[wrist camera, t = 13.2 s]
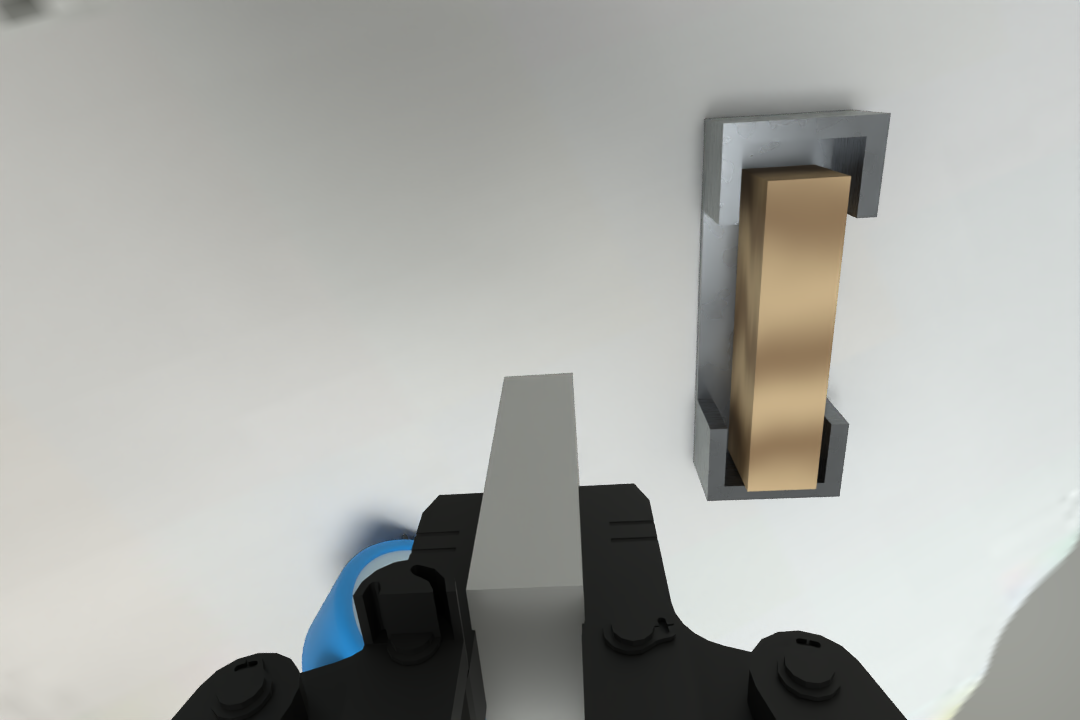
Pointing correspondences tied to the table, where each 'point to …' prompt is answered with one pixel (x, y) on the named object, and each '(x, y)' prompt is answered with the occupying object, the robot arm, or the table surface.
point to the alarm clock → (347, 606)
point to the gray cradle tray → (729, 148)
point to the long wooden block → (784, 321)
